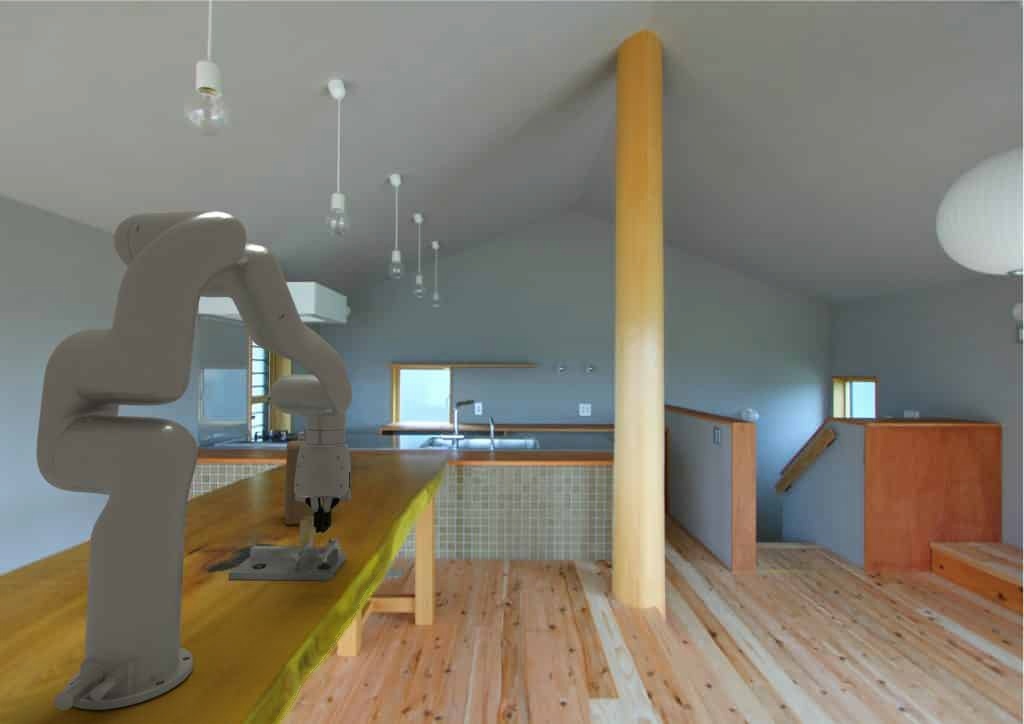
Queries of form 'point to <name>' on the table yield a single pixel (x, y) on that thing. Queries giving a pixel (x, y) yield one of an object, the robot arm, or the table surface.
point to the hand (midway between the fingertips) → (322, 530)
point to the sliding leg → (304, 537)
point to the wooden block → (293, 507)
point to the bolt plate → (290, 563)
